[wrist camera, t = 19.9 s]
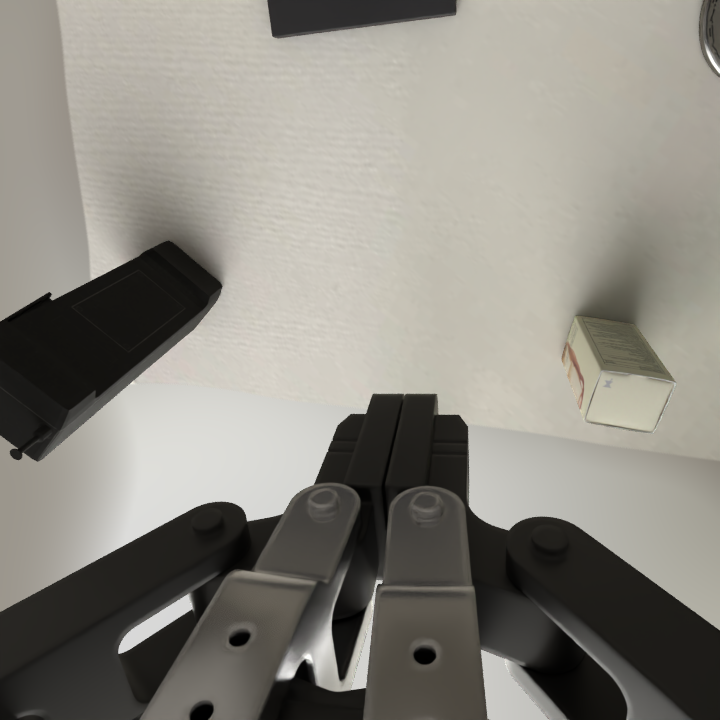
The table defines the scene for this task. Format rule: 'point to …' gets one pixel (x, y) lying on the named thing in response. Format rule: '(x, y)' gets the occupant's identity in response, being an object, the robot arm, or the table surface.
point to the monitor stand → (349, 14)
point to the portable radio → (94, 344)
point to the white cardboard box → (616, 375)
